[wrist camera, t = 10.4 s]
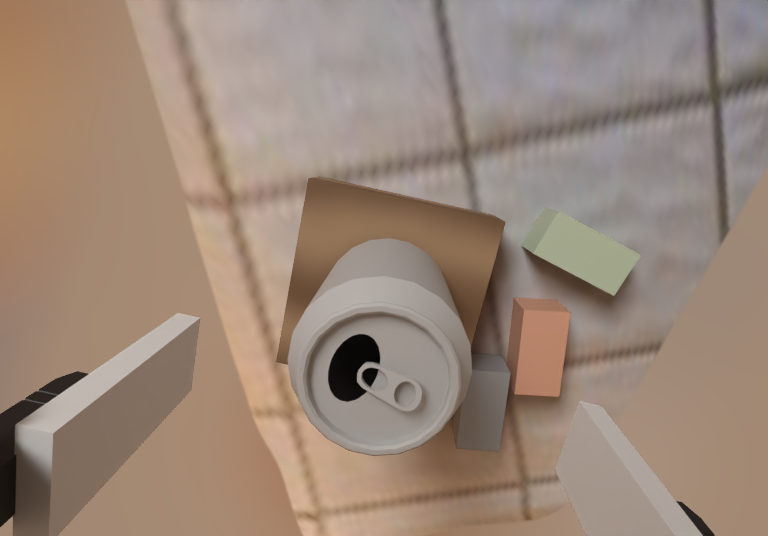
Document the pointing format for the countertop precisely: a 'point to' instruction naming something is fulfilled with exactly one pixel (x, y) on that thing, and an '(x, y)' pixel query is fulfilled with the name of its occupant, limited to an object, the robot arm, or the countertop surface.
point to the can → (381, 351)
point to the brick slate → (483, 405)
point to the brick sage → (580, 250)
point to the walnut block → (396, 221)
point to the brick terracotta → (537, 346)
